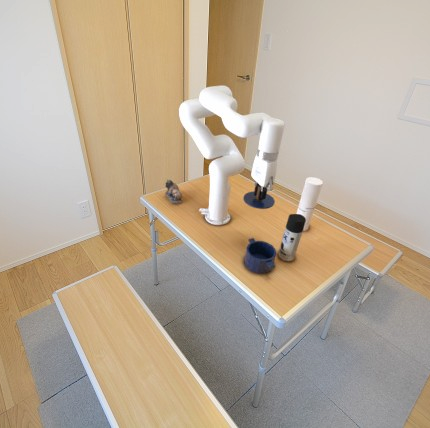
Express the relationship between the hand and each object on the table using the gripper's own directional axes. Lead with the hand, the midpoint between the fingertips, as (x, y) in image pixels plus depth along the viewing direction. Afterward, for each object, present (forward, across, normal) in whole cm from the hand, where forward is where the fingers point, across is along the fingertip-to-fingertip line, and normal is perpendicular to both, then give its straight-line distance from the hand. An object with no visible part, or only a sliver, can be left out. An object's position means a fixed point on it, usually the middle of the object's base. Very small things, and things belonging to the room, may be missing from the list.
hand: (259, 196), depth 112 cm
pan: (+23, +13, -4) cm, 27 cm away
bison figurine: (+24, -43, -24) cm, 55 cm away
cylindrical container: (+23, -3, +29) cm, 37 cm away
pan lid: (+2, 0, 0) cm, 2 cm away
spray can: (+23, +13, +10) cm, 29 cm away
